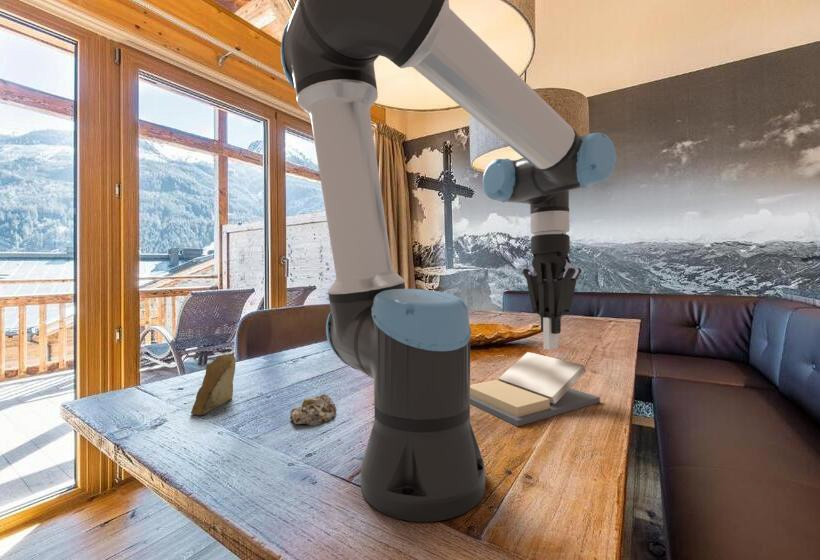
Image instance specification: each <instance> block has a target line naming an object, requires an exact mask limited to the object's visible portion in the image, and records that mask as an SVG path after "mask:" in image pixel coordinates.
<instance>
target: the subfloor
mask: <svg viewBox="0 0 820 560" xmlns="http://www.w3.org/2000/svg"><path fill="white" fill-rule="evenodd" d="M600 400H601V397H600V396H597V395H593V394H591V393H587V392H584V391H581V390H577V389H574V388H572V387H571V388H570V389H569V390H568V391H567V392H566V393H565V394H564V395H563V396H562V397H561V398H560V399H559V400H558V401H557V402H556V403H555V404H553V403H551V402H550V399H548V398H545V397H543V396H540V395H537V394H534V393H532V392H529V391H526V390H523V389H520V388H518V387H515V386H512V385H509V384H506V383H504V382H501V381H499V379H493V380H488V381H483V382H478V383H473V384H470V405H471V406H474V407H476V408H478V409H480V410H482V411H484V412H487V413H488V414H490V415H493V416H495V417H497V418H499V419H501V420H503V421H505V422H507V423H509V424H511V425H513V426H515V427H520V426H524V425H527V424H531V423H534V422H537V421H541V420H544V419H548V418H551V417H554V416H557V415H562V414H564V413H568V412H572V411H575V410H579V409H582V408H585V407H588V406H592V405H595V404H599V403H600V402H601V401H600Z"/></svg>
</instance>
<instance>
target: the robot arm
mask: <svg viewBox="0 0 820 560" xmlns="http://www.w3.org/2000/svg"><path fill="white" fill-rule="evenodd" d="M380 56H381V57H385V58H386V59H388V60H389V61H391V62H392V63H393V64H394V65H395V66H397V67H398V68H400V69H405V68H412V69H414V70H415V71H416V72H418V73H419V74H420V75H421V76H423V77H424V78H425V79H427V80H428V81H429V82H430V83H432V84H433V85H434V86H435V87H436V88H437V89H439V90H440V91H441V92H443V94H445V95H446V96H448V97H449V98H450V99H451V100H452V101H454V102H455V104H457V105H458V106H459V107H461V108H462V109H463V110H465V111H466V112H467V113H468V114H470V115H471V116H472V117H473V118H474V119H476V121H478V122H479V123H480V124H482V125H483V126H484V127H485V128H487V129H488V130H489V131H490V132H491V133H492V134H494V135H495V136H496V137H498V138H499V139H500V140H501V141H502V142H504V143H505V144H506V145H507V146H508V147H510V148H511V149H512V150H513V151H515V152H516V153H517V154H518V155H520V157H522V158H519V159H516V160H515V159H514V160H513V159H510V158H496V159H494V160H492V161H491V162H489V164H488V165H487V166H486V168H485V170H484V172H483V174H482V175H483V176H482V188H483V193H484V194H485V196H487V198H489V199H490V200H495V201H498V202H502V203H516V204H517V203H518V204H528V205H529V208H530V209H529V210H530V234H531V235H533V236H531V237H530V253H531V254H532V255H533V258H532V260H531V264H530V266H529V267H528V268H523V269H522V273H523V276H524V277H525V279H526V284H527V289H528V294H529V300H530V304H531V310H532V312H533V313H534V314H537V315H539V317H540V330H541V332H542V335H543V336H542V337H543V338H542V340H543V341H542V343H543V348H542V349H544V350H546V351H551V350H558V349H559V334H560V333H561V331H562V326H561V325H562V324H561V319H562V317H564V316H569V315H570V313H571V308H572V304H573V299H574V298H573V297H574V294H575V289H576V284H577V280H578V278H579V276H580V274H581V273H582V269H581V268H580V267H575V266H574V265H573V264H571V260H570V257H569V253H570V251H571V245H570V243H571V242H570V241H571V240H570V239H571V238H570V237H571V236H569V235H570V234H567V233H568V232H569V231H570V191H572V190H578V189H585V188H587V187H589V186H593V185H595V184H599V183H602V182H605V181H607V180H608V179H609V178H610V177H611V176H612V174H613V172H614V170H615V165H616V163H617V162H616V161H617V155H616V149H615V145H614V143H613V141H612V140H611V138H610V137H609V136H608V135H607V134H605V133H601V132H593V133H587V134H585V135H581V134H580V133H578V132H577V131H576V130H575V129H574V128H573V127H572V126H571V125H570V124H569V123H568V122H567V121H566V120H564V118H563V117H562V116H561V115H560V114H558V112H557V111H555V109H554V108H553V107H551V105H549V103H548V102H546V101H545V99H543V97H541V96H540V95H539V94H538V93H537V92H536V91H535V90H534V89H533V88H532V87H531V86H530V85H529V84H528V83H527V82H526V81H525V80H524V79H523V78H522V77H521V76H520V75H518V74H517V72H516V71H515V70H514V69H512V68H511V66H509V65H508V64H507V63H506V62H505V61H504V60H503V58H502V57H500V55H498V53H496V52H495V51H494V50H493V49H492V48H491V47H490V46H489V45H488V44H487V43H486V42H485V41H484V40H483V39H482V38H481V37H480V36H479V35H478V34H477V33H476V32H475V31H473V30H472V28H471V27H470V26H468V25H467V23H465V21H464V20H462V19H461V18H460V17H459V16H458V15H457V14H456V13H455V12H454V11H453V10H452V9H451V8H450V1H449V0H297V1H296V3H295V5H294V9H293V11H292V14H291V16H290V18H289V19H288V21H287V23H286V24H285V26H284V30H283V34H282V38H281V44H280V60H281V65H282V69H283V72H284V76H285V78H286V80H287V81H288V84H289V85H290V86H291V87H292V89H293V88H294V91H295V97H296V102H297V105H298V106H299V108H301V109H302V110H303V111H304V112H305V113H307V114H308V115H309V116H310V121H311V122H310V123H311V128H312V134H313V140H314V147H315V153H316V159H317V167H318V171H319V172H318V173H319V179H320V184H321V191H322V196H323V204H324V210H325V216H326V223H327V228H328V236H329V240H330V246H331V247H330V248H331V253H332V260H333V266H334V267H333V268H334V272H335V280H334V281H333V282H332V284H331V286H330V287H329V289H328V290H327V293H328V301H329V305H330V307H329V308H330V311H329V313H328V315H327V319H326V324H325V334H326V339H327V342H328V345H329V346H330V347H329V348H331V350H332V351H333V353H334V354H335V355H336V356H337V358H339V359H340V361H342V362H343V363H344V364H345V365H347V366H350V367H351V368H352V369H354V370H357V371H360V372H362V373H363V374H365V375H367V376H368V377H370V378H372V379H373V395H374V396H373V397H374V399H373V400H374V421H373V425H372V429H371V431H370V435H369V438H368V442H367V445H366V448H365V452H364V455H363V458H362V460H361V466H360V489H361V493H362V496H363V497H364V499H365V501H366V502H367V503H368V504H369V505H370V506H371V507H372V508H374V509H375V510H377V511H379V512H380V513H382V514H384V515H387V516H389V517H392V518H395V519H398V520H404V521H409V522H419V523H420V522H423V523H426V522H427V523H428V522H439V521H444V520H449V519H453V518H456V517H459V516H462V515H463V514H466V513H467V512H469V511H471V510H473V508H475V507H476V506H477V505H478V504H479V503H480V502H481V500H482V499H483V498H484V495H485V493H486V468H485V463H484V460H483V457H482V453H481V450H480V447H479V444H478V442H477V438H476V435H475V432H474V429H473V426H472V424H471V404H470V385H471V337H472V336H471V335H472V329H471V326H470V315H469V309H468V305H467V304H466V303H465V301H464V300H463V299H462V298H461V297H459V296H456V295H454V294H452V293H447V292H443V291H438V290H428V289H420V288H419V289H418V288H406V285H405V279H404V278H403V277H402V276H400V275H399V274H398V273H397V272H395V271H394V267H393V263H392V258H391V257H392V256H391V251H390V244H389V243H390V242H389V237H388V229H387V222H386V216H385V215H386V214H385V208H384V201H383V195H382V188H381V180H380V172H379V166H378V159H377V152H376V145H375V140H374V139H375V137H374V131H373V124H372V117H371V108H372V106H374V104H375V103H376V101H377V99H378V97H379V96H378V93H379V92H378V87H377V79H376V78H377V77H376V73H375V72H376V71H375V61H376V60H377V59H378V58H379V57H380Z"/></svg>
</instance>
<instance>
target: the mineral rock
mask: <svg viewBox="0 0 820 560" xmlns="http://www.w3.org/2000/svg"><path fill="white" fill-rule="evenodd" d="M335 405H336V403H334V402H333V400H332V397H331V396H329V395H327V394H320V395H317V396H314V397H312V398H304V399H303V401H302V404H301V406H297V407H295V408H293V409H292V410H291V412H290V417H289V419H290V421H293V423H294V424H296V425H308V426H310V427H311V426H317V425H320V424H323V423H326V422H330V421H332V418H334V417H335V415H336V412H337V411H336V408H337V407H336V406H335Z"/></svg>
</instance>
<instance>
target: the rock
mask: <svg viewBox="0 0 820 560" xmlns="http://www.w3.org/2000/svg"><path fill="white" fill-rule="evenodd" d="M236 360H237V359H236V357H235V356H234V355H233V354H231V353H227V354H224V353H223V354H222V355H219V356H218V357H217V358H215V359H213V360H212V362H210V363H209V364H207V365H206V366H205V374H204V377H203V380H202V385H201V386H200V387H199V388H198V391H197V393H196V397H195V402H194V404H193V405H192V408H191V412H190V414H191V415H197V416H203V415H205V414H207V413H208V412H211V411H213V410H215V409H216V408H218V407H220V406H222V405H223V404H226V402H228V401H230V400H232V398H233V395H234V377H235V372H236Z"/></svg>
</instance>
